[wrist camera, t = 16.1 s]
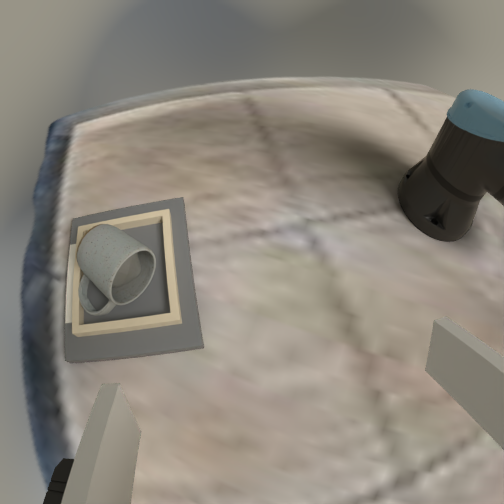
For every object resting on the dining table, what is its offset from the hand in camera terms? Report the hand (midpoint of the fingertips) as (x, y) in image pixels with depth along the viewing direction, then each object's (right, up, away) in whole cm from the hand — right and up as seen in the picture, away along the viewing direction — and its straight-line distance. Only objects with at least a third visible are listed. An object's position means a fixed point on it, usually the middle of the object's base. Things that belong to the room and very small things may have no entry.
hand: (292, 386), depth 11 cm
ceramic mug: (-19, +1, +27) cm, 33 cm away
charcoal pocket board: (-18, +2, +29) cm, 34 cm away
